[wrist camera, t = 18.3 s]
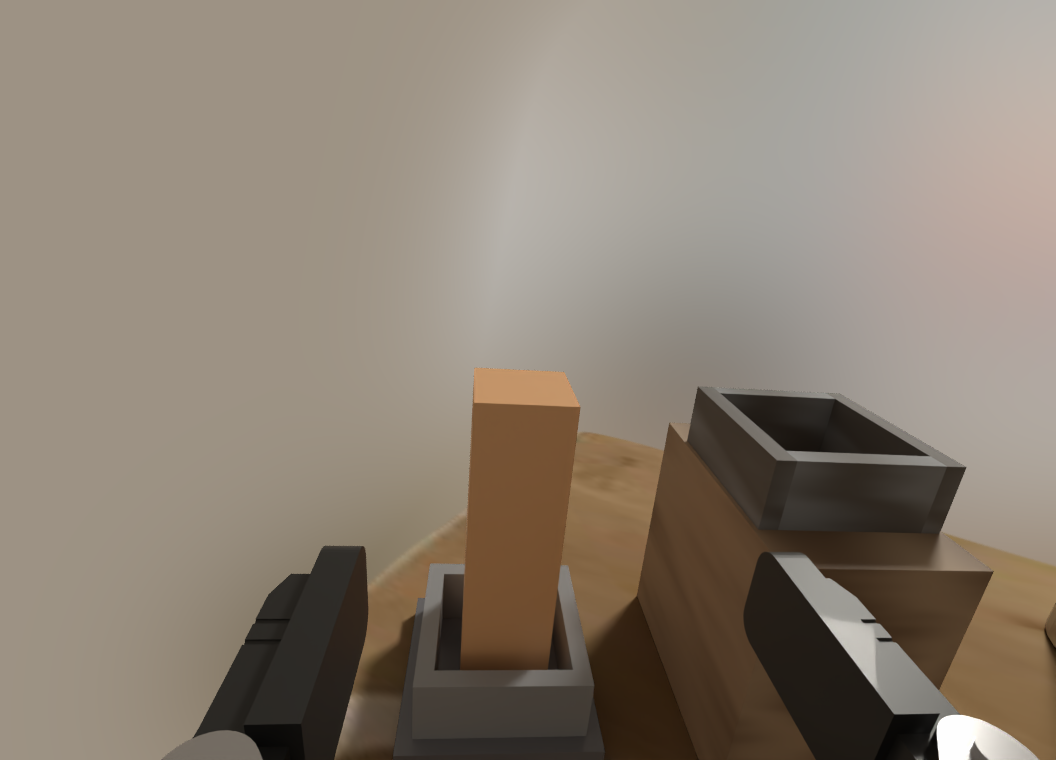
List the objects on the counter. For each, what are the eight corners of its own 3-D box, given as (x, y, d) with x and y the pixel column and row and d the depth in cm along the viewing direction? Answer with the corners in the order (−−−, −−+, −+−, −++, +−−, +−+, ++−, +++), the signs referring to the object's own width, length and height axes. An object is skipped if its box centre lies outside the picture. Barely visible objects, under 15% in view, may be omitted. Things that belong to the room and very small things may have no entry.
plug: (535, 632, 29) (564, 372, 24) (543, 699, 25) (580, 407, 20) (461, 633, 28) (474, 367, 23) (458, 701, 25) (473, 402, 20)
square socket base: (756, 596, 34) (818, 379, 29) (890, 795, 23) (1026, 499, 18) (636, 595, 34) (678, 372, 28) (714, 801, 22) (806, 492, 17)
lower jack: (570, 612, 32) (578, 557, 30) (602, 767, 23) (614, 700, 22) (417, 612, 31) (418, 555, 29) (393, 772, 22) (392, 702, 21)
